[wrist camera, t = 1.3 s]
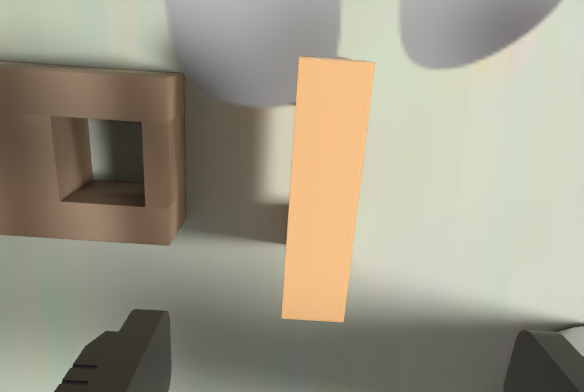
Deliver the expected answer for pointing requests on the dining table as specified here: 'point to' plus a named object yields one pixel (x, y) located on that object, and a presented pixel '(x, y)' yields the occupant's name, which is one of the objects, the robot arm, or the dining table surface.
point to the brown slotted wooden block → (76, 153)
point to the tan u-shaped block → (325, 185)
